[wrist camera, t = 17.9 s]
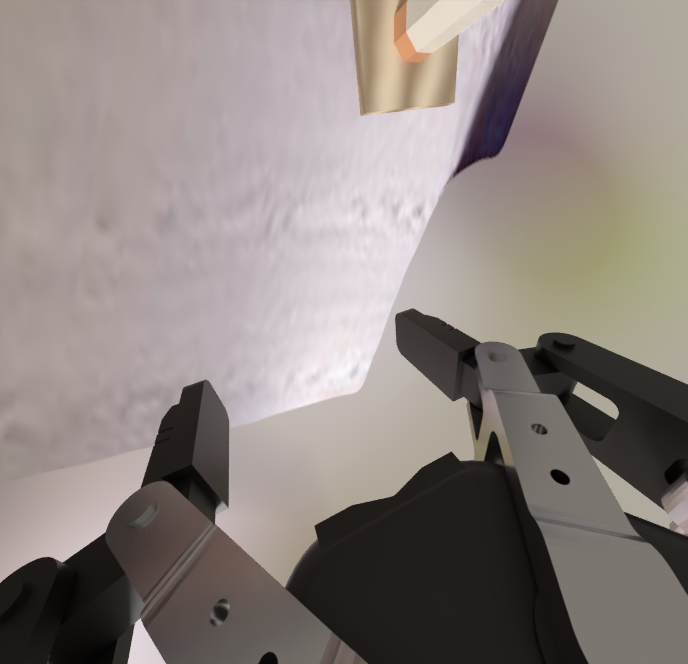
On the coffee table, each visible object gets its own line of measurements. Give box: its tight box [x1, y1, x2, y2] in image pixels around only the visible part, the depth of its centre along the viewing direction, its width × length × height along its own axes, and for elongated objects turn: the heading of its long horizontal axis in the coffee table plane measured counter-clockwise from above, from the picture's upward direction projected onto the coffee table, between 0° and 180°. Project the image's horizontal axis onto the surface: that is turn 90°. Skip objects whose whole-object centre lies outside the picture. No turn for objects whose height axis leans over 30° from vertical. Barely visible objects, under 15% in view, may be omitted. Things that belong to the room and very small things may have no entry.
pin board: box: [350, 0, 459, 116], centre depth 28 cm, size 14×14×6 cm
